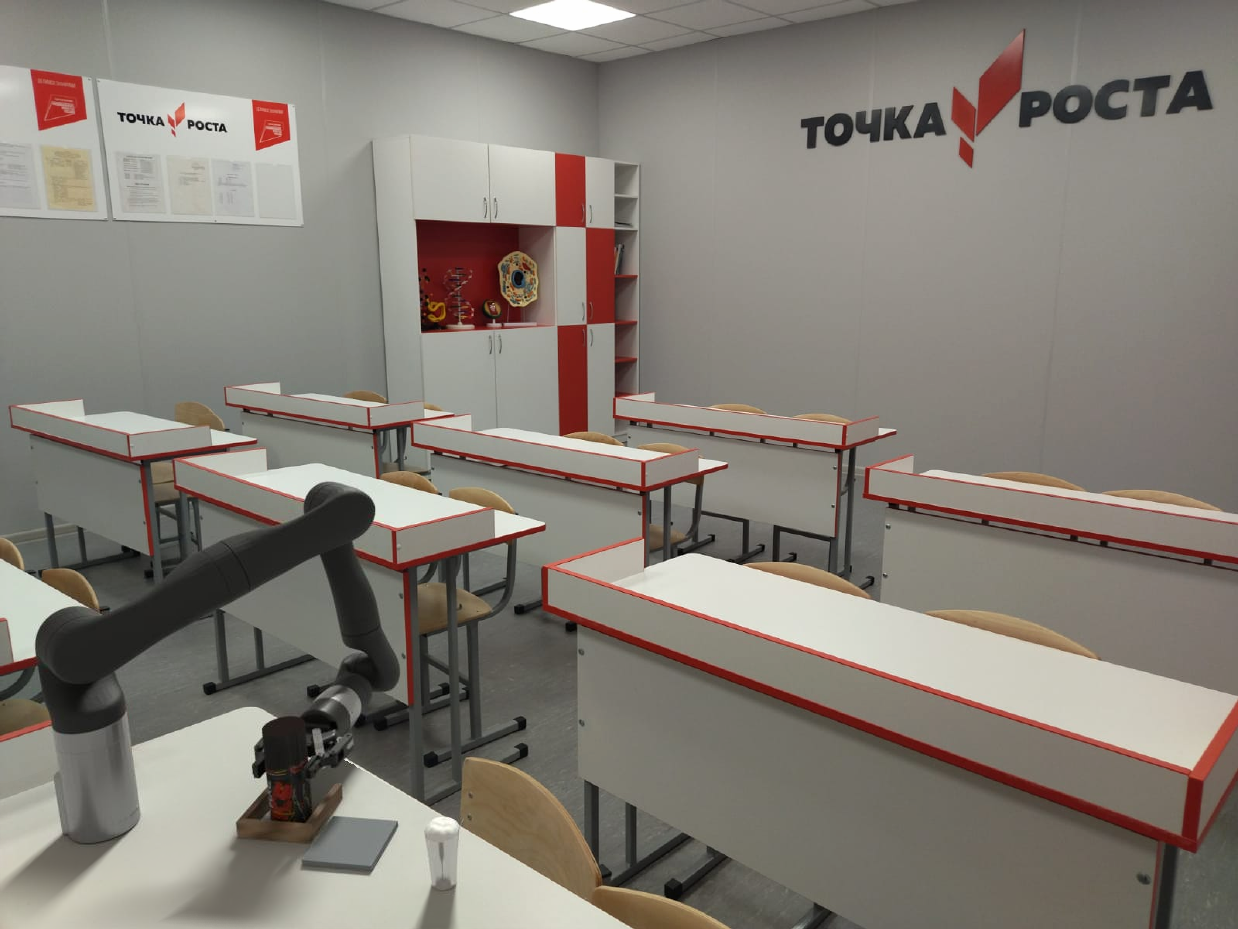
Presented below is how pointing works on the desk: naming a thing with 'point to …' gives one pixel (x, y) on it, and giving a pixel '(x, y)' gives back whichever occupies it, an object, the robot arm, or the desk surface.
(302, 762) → the deodorant
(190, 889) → the desk surface
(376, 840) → the pad
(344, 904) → the desk surface
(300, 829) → the walnut bay
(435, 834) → the milkshake
